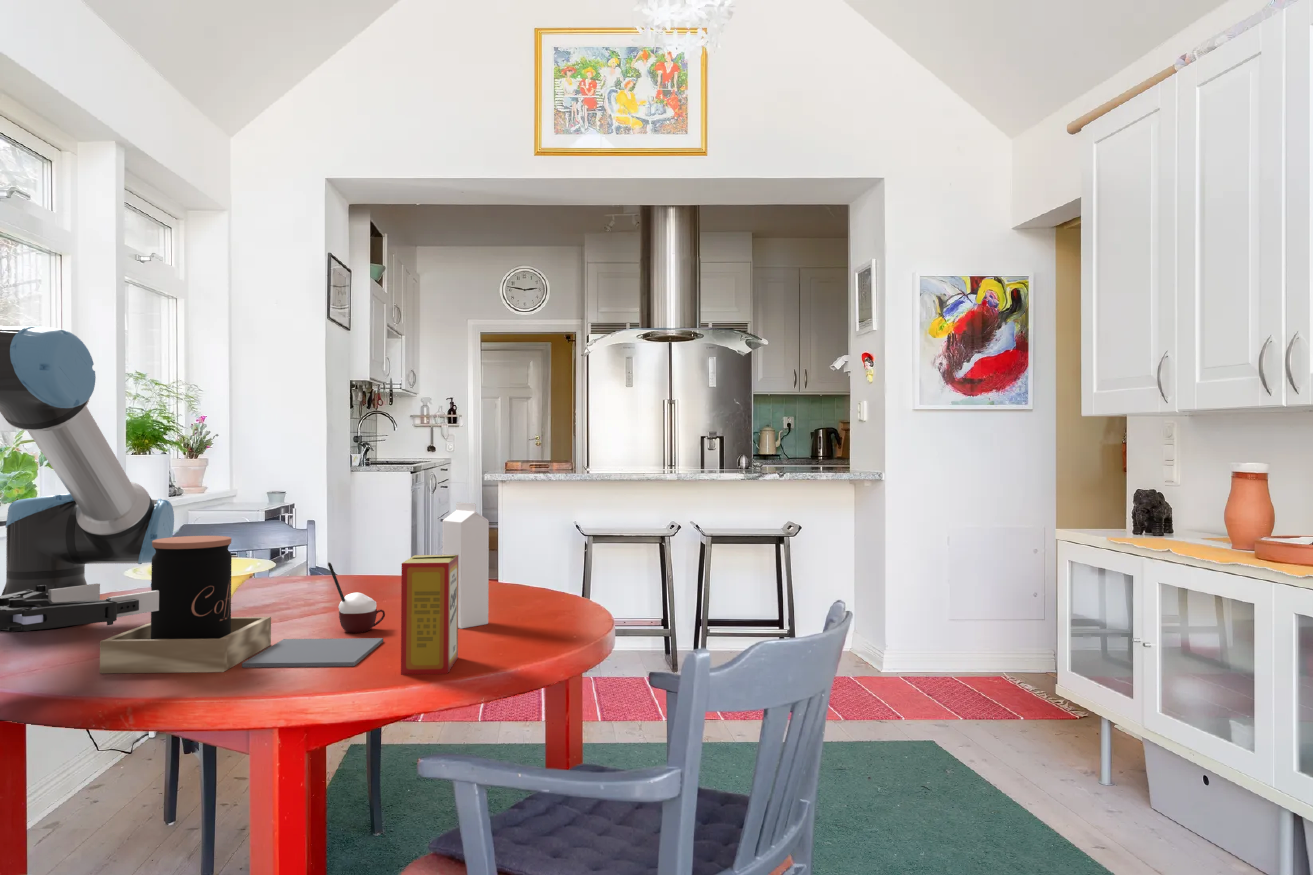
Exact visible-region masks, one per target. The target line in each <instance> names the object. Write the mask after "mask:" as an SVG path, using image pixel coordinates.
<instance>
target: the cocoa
mask: <svg viewBox="0 0 1313 875" xmlns="http://www.w3.org/2000/svg"><path fill="white" fill-rule="evenodd" d="M327 566H328V569H329V572H330V573H331V576H332V578H333V579H332V580H333V581H334V584H335V587H336V589H337V592H338V594H339V597H340V599H341V601H340V602H339V604H338V610H339V611H338V618H339V623H340V626H341V627H342V629H343V630H344V631H345V632H346V633H349V634H361V633H366V632H368V631H370V630H371V629H372V628H374V627H376V626H377V625H379V624H380V623H381V622H382V621H383V620H384V619H385V616H386V613H385V610H384V609H378V610H377V601H376V600H374V599H373V598H372V597H369V596H368V595H366V594H364V593H362V592H351V593H349V594H346V595H345V596H344V593H343V591H342V589H341V588H342V587H341V586H340V583H339V580H338V578H337V576H336V575H337V574H336V572H335V570H334V568H333V564H332V563H331V562H329V561H328V563H327ZM378 613H382V615H381V618H379V619H378V620H377V615H378Z"/></svg>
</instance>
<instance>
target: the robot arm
mask: <svg viewBox="0 0 1313 875" xmlns="http://www.w3.org/2000/svg"><path fill="white" fill-rule="evenodd" d="M94 364H95V363H94V361H93V357H92V354H91V353H90V350H89V349H88V347H87V346H86V345H85V343H84V342H83V341H82V340H81V339H80V338H79V337H78V336H77V335H75V334H74V333H72V332H70V331H68V330H66V329H63V328H54V327H46V326H42V325H41V326H40V325H34V326H33V325H30V326H0V414H1V415H2V417H3V418H4V420H5V422H7V423H8V424H9V425H11V426H12V427H14V428H16V429H18V430H21V431H27V432H28V433H29V436H30V437H31V439H33V441H34V443H35V445H36V446H37V447H38V448H39V450H40V452H41V453H42V454H43V456H44V457H45V459H46V461H47V463H48V464H49V465H50V466H51V468H52V469H53V472H55V474H56V475H57V476H58V478H59V480H60V481H61V483H62V484H63V485H64V487H65V488H66V490H67V492H68V493H61V494H53V495H47V496H46V495H45V496H44V495H43V496H39V497H38V496H37V497H29V498H20V499H18V500H17V499H16V500H15V501H13V502H11V503H10V504H9V506H8V508H7V515H6V524H5V528H6V546H5V547H6V551H5V552H6V553H5V554H6V557H5V558H6V559H5V560H6V563H5V564H6V579H5V580H6V581H5V586H4V587H3V590H2V592H1V595H0V631H7V632H21V631H24V632H30V631H36V630H38V631H39V630H49V629H57V628H65V627H71V626H79V625H87V624H99V623H100V624H101V623H106V626H112V625H114V622H116V621H117V619H118V618H122V617H128V616H129V617H130V616H133V615H140V614H146V613H151V612H153V611H159V591H156V590H155V591H151V590H148V591H142V592H136V593H129V594H122V595H115V596H108V597H106V599H101V597H100V596H101V583H91V584H88V583H87V581H86V576H85V575H86V574H85V573H86V572H85V568H86V567H85V566H86V565H92V564H93V565H94V564H96V565H98V564H99V565H100V564H103V565H104V564H106V565H107V564H113V565H114V564H117V565H118V564H119V565H120V564H123V565H124V564H126V565H127V564H130V565H131V564H132V565H133V564H134V565H135V564H138V565H142V564H147V563H148V564H149V563H151V564H152V556H153V555H154V554H155V553H156V550H155V549H154V548H153V546H152V541H153V540H156V539H162V538H170V537H174V536H173V534H174V527H175V526H174V525H175V511H174V508H173V505H172V502H170V500H167V499H162V498H158V499H152V497H151V496H150V494H149V492H148V490H146V489H145V487H143V486H142V485H141V484H139V483H136V482H133V481H130V478H129V477H128V475H127V474H126V472H125V469H124V468H123V467H122V465H121V463H120V462H119V460H118V458H117V456H116V455H115V452H114V451H113V450H112V448H111V446H110V444H109V443H108V441H107V439H106V438H105V436H104V433H103V432H102V430H101V429H100V426H99V425H98V424H97V422H96V420H95V418H94V416H93V415H92V413H91V410H89V408H88V405H89V402H90V398H91V397H92V395H93V393H94V391H95V386H96V379H97V378H96V370H94V369H93V366H94Z"/></svg>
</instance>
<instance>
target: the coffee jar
mask: <svg viewBox="0 0 1313 875" xmlns="http://www.w3.org/2000/svg"><path fill="white" fill-rule="evenodd" d="M232 540H233V539H232V537H231V536H226V535H186V536H172V537H170V538H162V539H156V540H153V541H152V546H153V548H154V549H155V550H156V553H155V554H154V555H153V556H152V563H151V571H150V572H151V574H150V576H151V582H150V583H151V584H150V586H151V589H150V591H155V590H156V591H159V611H153V612H150V622H151V639H220V638H222V637H224V636H226V635H228V634H231V617H232V553H231V552H230V550H229V547H230V545H232Z"/></svg>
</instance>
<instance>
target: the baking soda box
mask: <svg viewBox="0 0 1313 875" xmlns="http://www.w3.org/2000/svg"><path fill="white" fill-rule="evenodd" d="M400 581H401V586H400V587H401V592H400V593H401V596H400V597H401V599H400V600H401V602H400V606H401V607H400V612H401V613H400V615H401V616H400V620H401V621H400V623H401V624H400V626H401V627H400V635H401V636H400V675H404V676H405V675H445V674H446V675H447V673H448V672H450V671H451V670H450V669H452V668H453V666H454V665H455V663H456V662H457V660H458V658H459V628H458V555H442V554H415V555H413V556H411V557H410V558H408V559H406V560H405V561H403V562H402V563H401V580H400ZM456 659H457V660H456ZM453 664H454V665H453ZM451 667H452V668H451ZM448 674H449V673H448Z"/></svg>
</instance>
